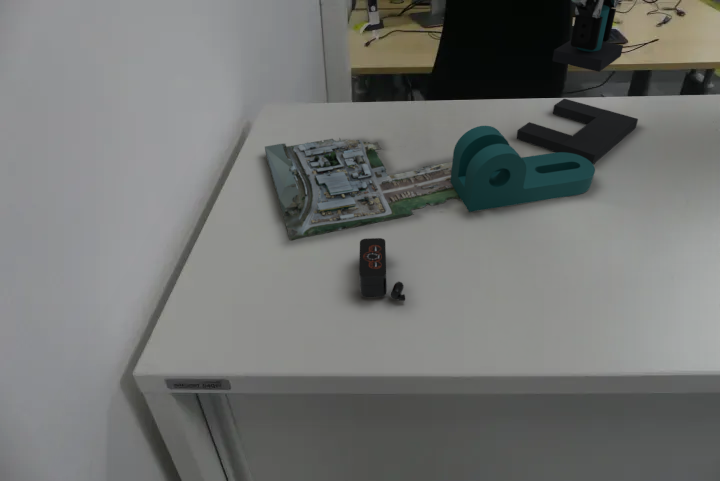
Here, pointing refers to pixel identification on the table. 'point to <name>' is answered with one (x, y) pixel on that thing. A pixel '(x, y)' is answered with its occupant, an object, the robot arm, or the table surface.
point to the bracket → (512, 172)
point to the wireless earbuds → (375, 270)
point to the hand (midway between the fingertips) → (590, 42)
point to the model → (348, 186)
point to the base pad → (581, 131)
